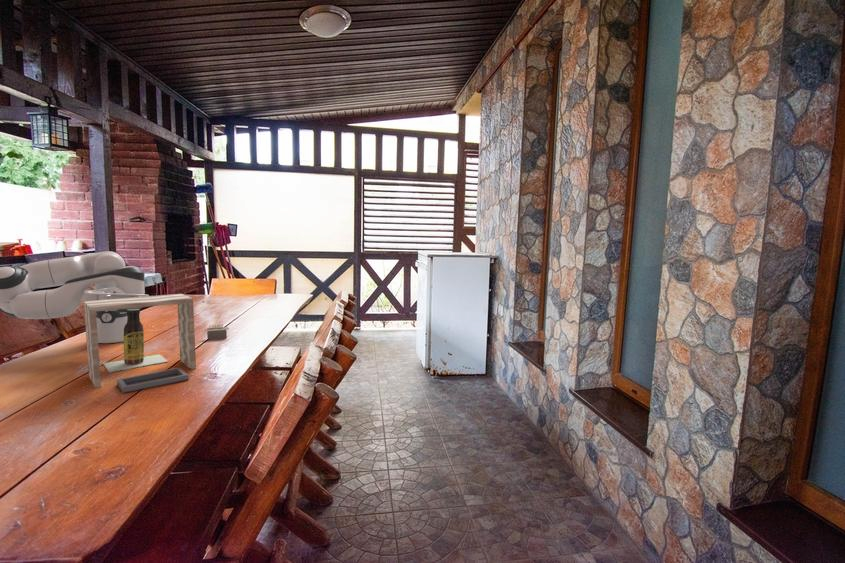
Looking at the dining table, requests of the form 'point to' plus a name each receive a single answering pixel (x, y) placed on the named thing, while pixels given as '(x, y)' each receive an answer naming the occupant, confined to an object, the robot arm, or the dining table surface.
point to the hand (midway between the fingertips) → (123, 298)
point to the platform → (217, 332)
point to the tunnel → (135, 302)
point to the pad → (146, 362)
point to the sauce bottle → (133, 338)
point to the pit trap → (151, 380)
